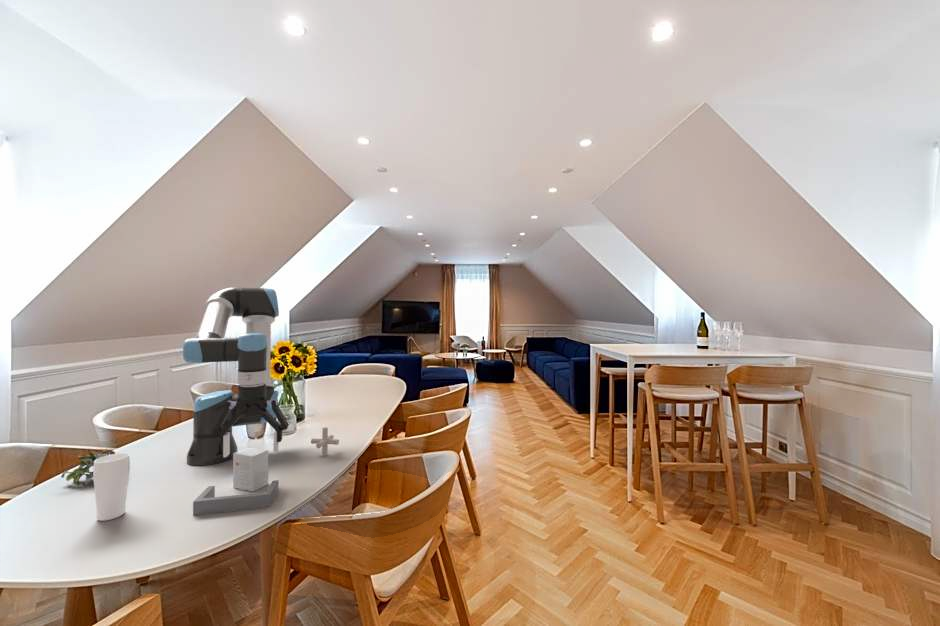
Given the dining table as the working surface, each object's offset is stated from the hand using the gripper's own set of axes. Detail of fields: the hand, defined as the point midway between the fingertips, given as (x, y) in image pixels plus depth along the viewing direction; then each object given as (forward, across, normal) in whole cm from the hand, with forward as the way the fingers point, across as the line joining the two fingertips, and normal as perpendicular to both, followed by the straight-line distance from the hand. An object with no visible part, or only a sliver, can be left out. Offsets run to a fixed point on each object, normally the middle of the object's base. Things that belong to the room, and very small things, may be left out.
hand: (251, 454), depth 114 cm
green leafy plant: (+10, -48, +13) cm, 51 cm away
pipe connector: (+10, +18, +21) cm, 30 cm away
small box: (+10, 0, -1) cm, 10 cm away
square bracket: (+9, 0, -11) cm, 14 cm away
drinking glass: (+10, -29, -12) cm, 33 cm away
